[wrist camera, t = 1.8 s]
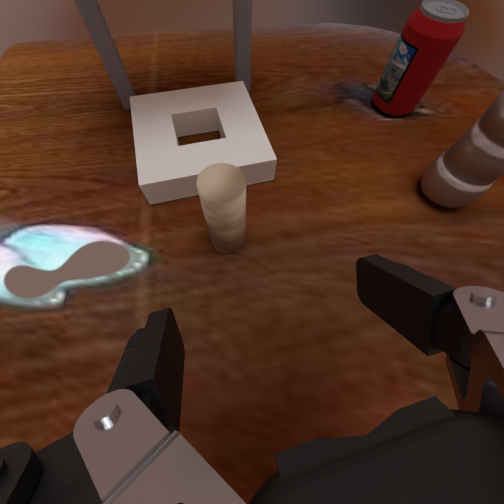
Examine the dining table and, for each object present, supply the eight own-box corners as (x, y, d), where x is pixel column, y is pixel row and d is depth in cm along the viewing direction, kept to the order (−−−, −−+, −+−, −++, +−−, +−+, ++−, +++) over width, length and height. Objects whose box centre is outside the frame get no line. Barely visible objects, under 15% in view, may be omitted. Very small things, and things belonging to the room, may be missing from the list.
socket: (273, 179, 33) (276, 159, 29) (149, 204, 30) (138, 185, 27) (243, 104, 39) (242, 80, 36) (139, 120, 37) (129, 96, 34)
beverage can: (372, 89, 42) (417, -10, 31) (413, 98, 41) (473, 0, 30) (367, 113, 39) (414, 14, 28) (411, 123, 38) (477, 26, 27)
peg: (205, 246, 28) (187, 192, 19) (219, 219, 30) (209, 157, 21) (238, 258, 27) (234, 207, 19) (250, 229, 29) (252, 170, 21)
